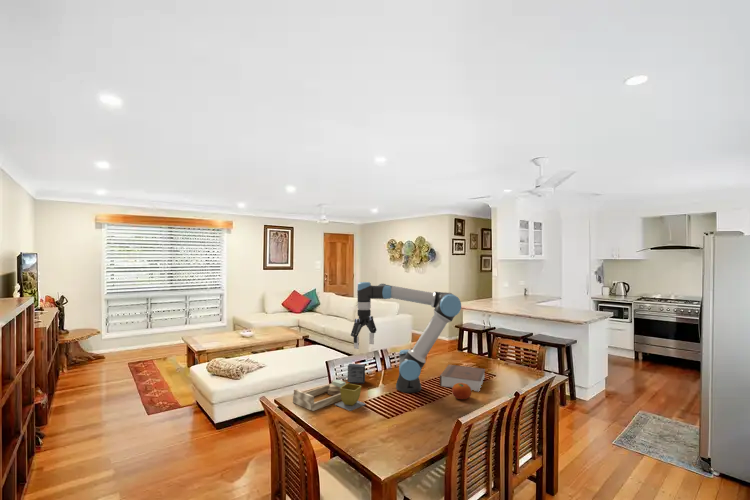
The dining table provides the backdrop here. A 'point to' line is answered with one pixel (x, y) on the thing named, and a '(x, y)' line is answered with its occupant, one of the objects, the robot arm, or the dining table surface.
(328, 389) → the offcut walnut
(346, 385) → the flower pot
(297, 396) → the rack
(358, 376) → the small box
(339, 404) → the felt mat
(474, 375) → the book
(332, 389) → the offcut oak
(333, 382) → the offcut sage
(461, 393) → the fruit
